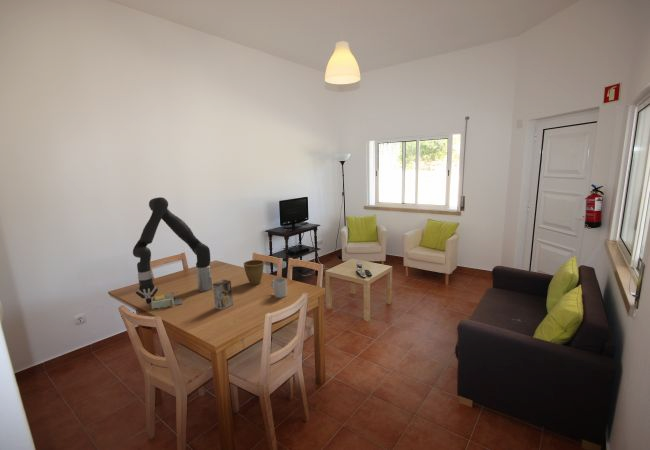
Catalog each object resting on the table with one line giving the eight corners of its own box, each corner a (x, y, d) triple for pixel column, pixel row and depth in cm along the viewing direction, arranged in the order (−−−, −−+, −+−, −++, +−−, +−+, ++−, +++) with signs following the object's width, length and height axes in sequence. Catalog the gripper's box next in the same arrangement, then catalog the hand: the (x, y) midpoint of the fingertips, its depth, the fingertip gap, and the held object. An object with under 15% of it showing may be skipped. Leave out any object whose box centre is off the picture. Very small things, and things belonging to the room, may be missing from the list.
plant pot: (269, 281, 240) (268, 261, 236) (255, 288, 227) (253, 266, 224) (255, 278, 247) (253, 258, 244) (240, 284, 235) (239, 263, 232)
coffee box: (226, 302, 205) (224, 279, 201) (233, 304, 201) (231, 280, 198) (214, 308, 197) (212, 283, 194) (221, 310, 194) (219, 285, 190)
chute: (182, 298, 213) (181, 290, 212) (181, 305, 201) (180, 297, 200) (154, 302, 207) (153, 295, 206) (151, 310, 195) (150, 302, 194)
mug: (289, 294, 215) (288, 279, 213) (280, 298, 208) (280, 283, 206) (276, 290, 222) (275, 275, 220) (267, 294, 215) (267, 279, 213)
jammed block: (165, 301, 206) (164, 294, 205) (164, 304, 201) (163, 297, 200) (156, 303, 204) (155, 295, 203) (155, 306, 199) (154, 298, 198)
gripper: (157, 274, 202) (161, 299, 206) (134, 277, 198) (138, 303, 201) (156, 277, 195) (160, 303, 199) (132, 281, 191) (136, 307, 194)
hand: (149, 303), depth 200 cm, fingers closed
